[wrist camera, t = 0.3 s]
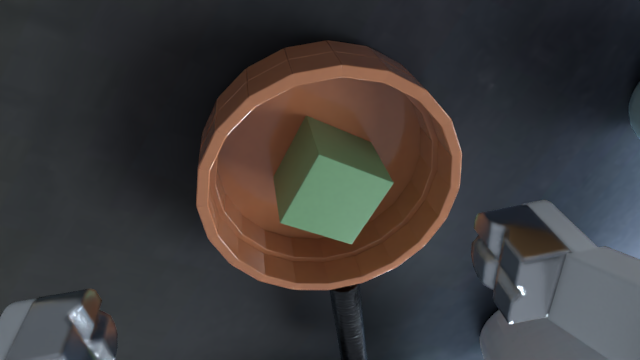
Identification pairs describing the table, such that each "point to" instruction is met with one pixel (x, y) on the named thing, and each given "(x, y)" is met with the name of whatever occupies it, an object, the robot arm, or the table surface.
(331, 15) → the table surface
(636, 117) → the cup
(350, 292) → the pan handle
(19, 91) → the table surface
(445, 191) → the pan
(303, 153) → the block
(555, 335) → the potted plant
